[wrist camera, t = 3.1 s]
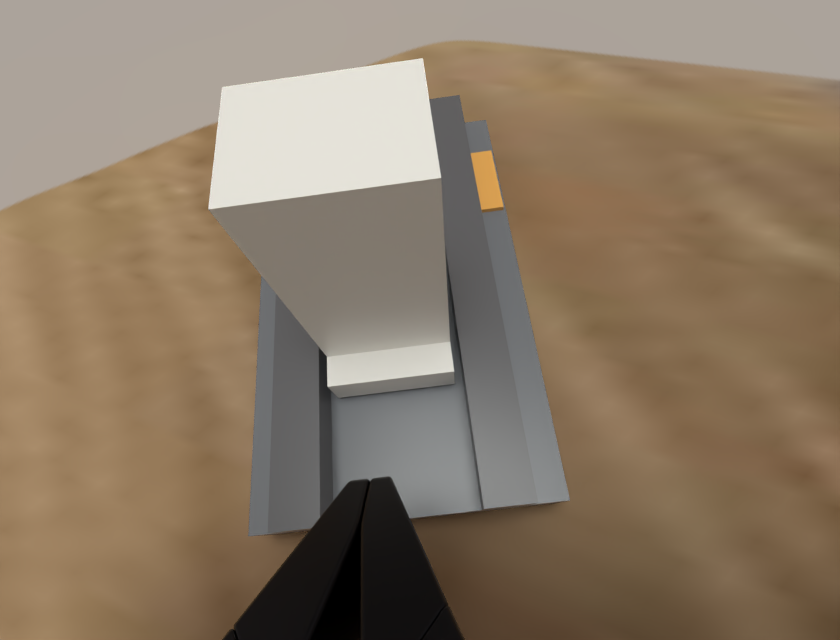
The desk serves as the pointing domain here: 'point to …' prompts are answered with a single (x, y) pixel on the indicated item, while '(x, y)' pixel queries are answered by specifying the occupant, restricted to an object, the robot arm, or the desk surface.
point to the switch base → (423, 407)
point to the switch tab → (343, 217)
